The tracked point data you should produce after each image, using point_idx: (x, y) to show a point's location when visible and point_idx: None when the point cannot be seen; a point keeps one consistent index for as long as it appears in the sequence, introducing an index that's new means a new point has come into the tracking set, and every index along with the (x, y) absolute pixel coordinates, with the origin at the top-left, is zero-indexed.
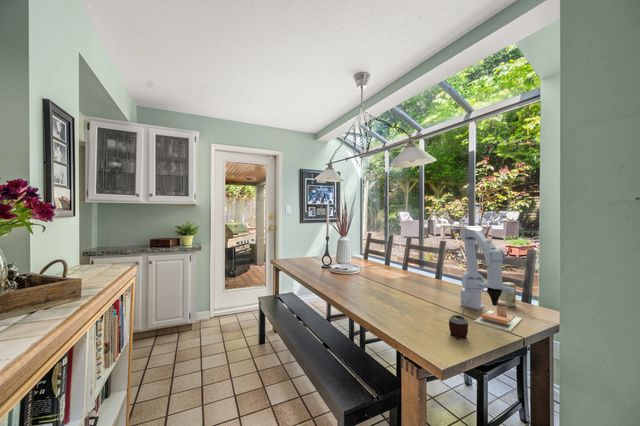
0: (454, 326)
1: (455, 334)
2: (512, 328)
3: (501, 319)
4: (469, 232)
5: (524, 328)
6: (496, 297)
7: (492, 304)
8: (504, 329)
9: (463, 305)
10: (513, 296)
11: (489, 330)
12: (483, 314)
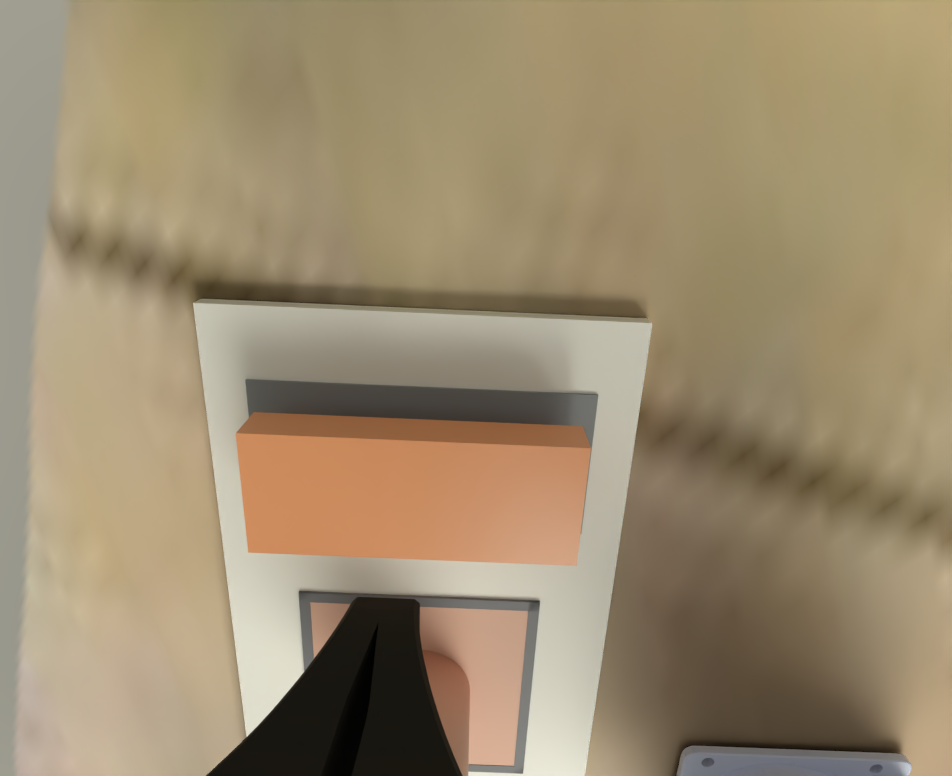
0: None
1: None
2: (207, 407)
3: (309, 448)
4: None
5: (143, 533)
6: (257, 749)
7: (417, 608)
8: (263, 305)
9: (870, 761)
10: None
11: (409, 150)
12: (568, 478)
